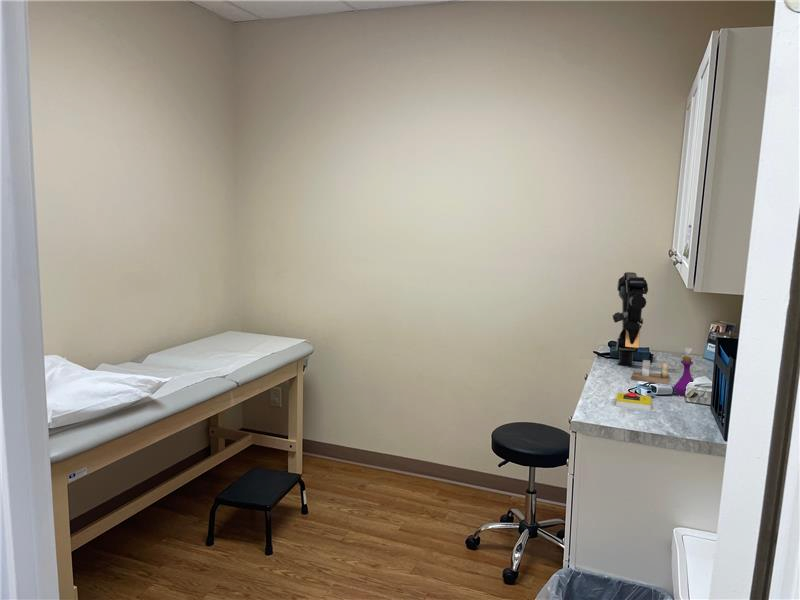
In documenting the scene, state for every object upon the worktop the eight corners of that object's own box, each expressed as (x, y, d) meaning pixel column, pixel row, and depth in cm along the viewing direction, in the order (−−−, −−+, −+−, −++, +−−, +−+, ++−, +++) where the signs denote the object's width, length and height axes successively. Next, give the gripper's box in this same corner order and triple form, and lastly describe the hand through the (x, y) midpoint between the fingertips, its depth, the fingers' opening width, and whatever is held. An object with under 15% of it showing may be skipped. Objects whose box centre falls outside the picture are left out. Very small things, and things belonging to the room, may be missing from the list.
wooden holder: (633, 374, 243) (634, 357, 242) (669, 378, 237) (671, 360, 236) (631, 379, 234) (632, 361, 234) (668, 384, 228) (670, 365, 227)
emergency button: (613, 388, 206) (658, 393, 200) (612, 400, 207) (657, 405, 201) (611, 395, 198) (658, 400, 192) (610, 407, 198) (657, 413, 192)
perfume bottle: (694, 399, 207) (698, 350, 205) (672, 396, 211) (675, 348, 209) (698, 395, 213) (702, 347, 211) (676, 391, 217) (679, 345, 215)
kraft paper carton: (626, 344, 249) (627, 327, 248) (639, 345, 246) (640, 328, 246) (625, 346, 244) (626, 328, 243) (638, 347, 242) (639, 330, 241)
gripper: (617, 303, 255) (615, 337, 257) (611, 307, 239) (609, 344, 241) (644, 304, 250) (642, 339, 252) (640, 309, 234) (638, 347, 235)
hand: (632, 342), depth 245 cm, fingers closed on kraft paper carton, 5 cm apart
